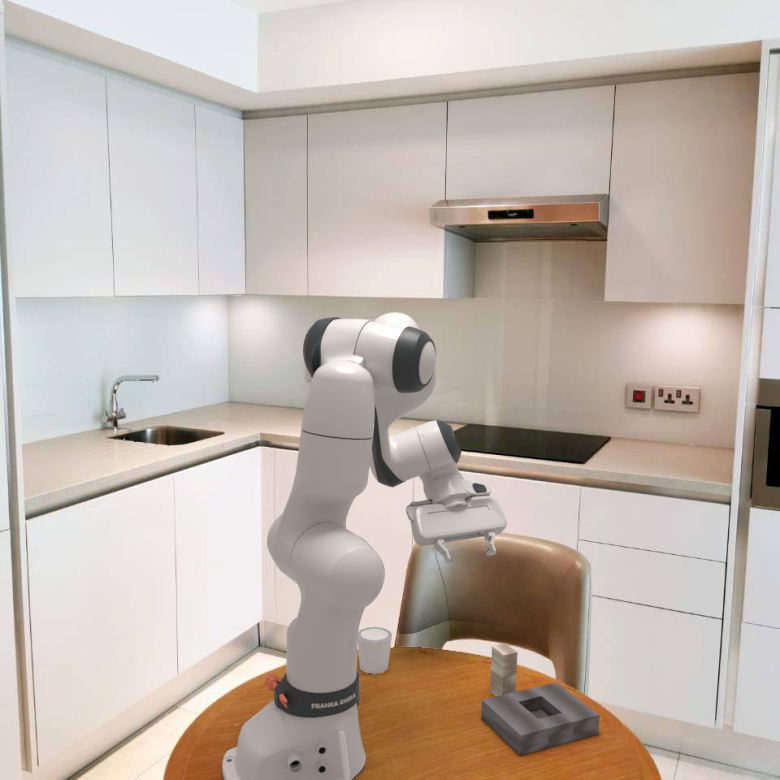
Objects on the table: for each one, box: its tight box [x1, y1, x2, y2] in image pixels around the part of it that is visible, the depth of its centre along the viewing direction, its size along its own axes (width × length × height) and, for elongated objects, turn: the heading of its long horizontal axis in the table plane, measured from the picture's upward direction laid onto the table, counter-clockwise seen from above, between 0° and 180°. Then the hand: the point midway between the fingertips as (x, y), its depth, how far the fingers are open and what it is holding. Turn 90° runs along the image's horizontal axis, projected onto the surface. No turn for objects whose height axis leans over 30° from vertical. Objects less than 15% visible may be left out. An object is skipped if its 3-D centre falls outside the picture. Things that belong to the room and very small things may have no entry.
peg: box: [489, 642, 519, 697], centre depth 145 cm, size 3×4×9 cm
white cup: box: [357, 626, 393, 675], centre depth 155 cm, size 7×7×7 cm
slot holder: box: [480, 682, 601, 756], centre depth 135 cm, size 16×12×4 cm
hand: (471, 557), depth 155 cm, fingers open, 8 cm apart
